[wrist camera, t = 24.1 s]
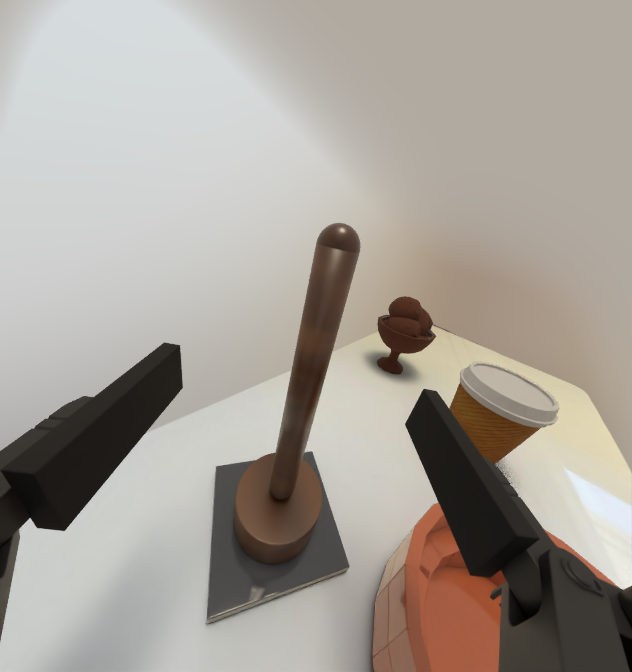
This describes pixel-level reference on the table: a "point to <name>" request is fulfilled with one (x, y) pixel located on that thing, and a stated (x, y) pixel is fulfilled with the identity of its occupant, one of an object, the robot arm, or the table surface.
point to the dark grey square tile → (255, 577)
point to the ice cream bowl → (404, 331)
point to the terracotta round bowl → (438, 605)
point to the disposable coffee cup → (500, 408)
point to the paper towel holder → (298, 416)
